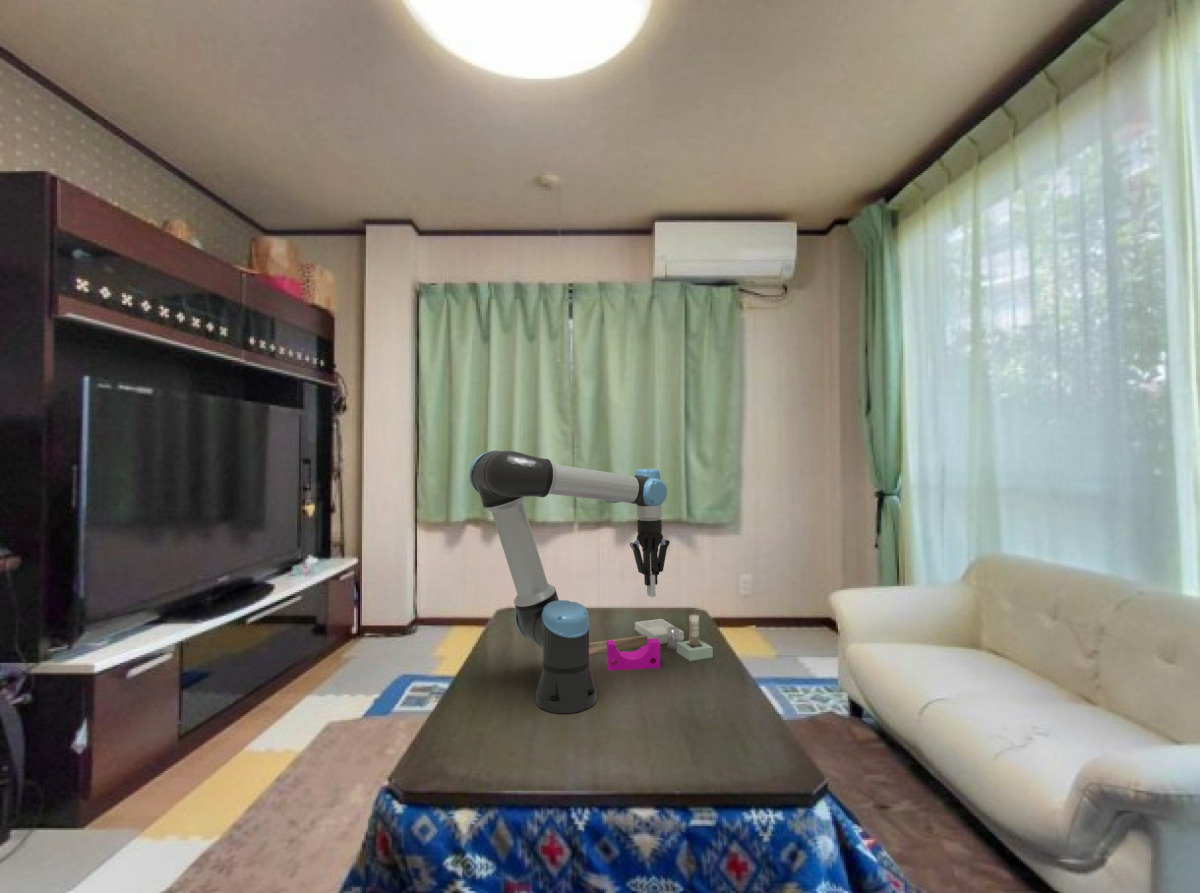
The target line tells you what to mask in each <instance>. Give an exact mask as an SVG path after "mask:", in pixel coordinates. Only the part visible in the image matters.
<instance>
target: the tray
mask: <svg viewBox="0 0 1200 893" xmlns="http://www.w3.org/2000/svg"><path fill="white" fill-rule="evenodd" d="M668 627H676V626H675V625H673V624H672V623H670V622H668V621H666V620H665V619H663V618H658V619H651V620H640V621H634V632H636V633H637V634H639V636H642V635H646V636H647V641H648V639H650V638H657V639H658V640H659V642H660V645H666V644H667V628H668ZM683 641H685V631H683V630H681V629H680V628H679V642H683Z"/></svg>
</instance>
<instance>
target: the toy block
mask: <svg viewBox="0 0 1200 893" xmlns="http://www.w3.org/2000/svg"><path fill="white" fill-rule="evenodd" d="M606 667H607V670H608V671H622V670H623V671H624V670H625V671H627V670H646V669H660V668H661V644H660V642H659V640H658V639H657V638H650V639H648V640H647V645H646V646H642V647H638V649H636V650H634V651H624V650H618V649H617V648H616V645H615V642H614V639H607V652H606Z"/></svg>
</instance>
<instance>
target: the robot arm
mask: <svg viewBox="0 0 1200 893" xmlns="http://www.w3.org/2000/svg"><path fill="white" fill-rule="evenodd" d="M468 473H469V474H468V475H469V482H470V484H471V485H472V487H473V489H474V490H475V491H476V492H477V493H479V494H478V495H479V496H480V500H481V503H482V506H483V508H484V509H485V510H488V511H490V513H491V515H492V517H493V521H494V525H495V526H496V527H495V528H496V530H497V534H498V538H499V540H500V544H501V546H502V550H503V553H504V556H505V559H506V562H507V565H508V568H509V572H510V575H511V577H512V581H513V585H514V588H515V591H516V593H517V594H516V596H515V598H514V599H513V603H514V608H515V610H514V621H515V626H516V628H517V629H518V630H519V632H520V634H522V635H523V636H524V637H525V638H526V639H528V640H530V641H532V642H533V643H534V644H536V645H538V646H539V647H540V648H542V672H541V676H540V677H539V681H538V684H537V687H536V688H537V689H536V692H535V704H536V705H537V706H538V707H539V708H540V709H542V710H543V711H546V712H550V713H556V714H573V713H580V712H582V711H586V710H589V709H590V708H591V707H593V706H594V705H595V703H596V702H597V688H596V685H595V682H594V679H593V675H592V673H591V671H590V654H589V643H590V623H591V622H590V618H589V612H588V609H587V608H586V607H585V606H584V605H583V604H581V603H578V602H577V601H571V600H564V599H563V600H561V599H559V596H558V593H557V590H556V587H555V586H554V585H553V584H550V583H548V580H547V577H546V573H545V570H544V566H543V563H542V560H541V557H540V553H539V549H538V548H537V547H538V546H537V545H536V541H535V537H534V534H533V531H532V527H531V525H530V522H529V518H528V515H527V511H526V508H525V504H524V500H525V498H526V497H528V498H529V497H538V498H546V497H548V496H549V495H553V496H555V495H556V496H563V497H564V496H565V497H570V498H572V497H574V498H580V499H581V498H583V499H589V500H590V499H591V500H599V501H604V502H606V503H608V504H609V503H610V504H612V503H613V504H617V503H627V504H634V505H636V517H637V521H636V525H637V535H636V540H635V541H633V542H630V543H629V546H630V548H631V550H632V551H633V555H634V559H635V563H636V567H637V571H638V573H640V574H642V575H643V576H644V578H643V579H644V586H646V595H647V596H648V597H650V598H655V597H656V594H657V593H656V586H657V585H658V575H660V573H662V572H664V567H665V563H666V562H665V561H666V555H667V551H668V547H669V545H670V544H671V541H670V540H669V539H665V538H664V535H663V533H662V531H663V523H662V519H661V518H663V517H662V505H663V503H664V502H665V501H666V500H667V497H668V496H667V495H668V490H667V486H666V483H665V482H664V481H663V480H661V473H660V470H659V469H657V468H639V469H636V471H635V475H628V474H622V473H617V472H610V471H609V472H608V471H602V470H596V469H595V470H594V469H588V468H582V467H575V466H570V465H569V466H567V465H562V464H556V463H555V464H554V463H553V462H552V460H551V459H548V458H543V457H537V456H534V455H529V454H527V453H522V452H519V451H516V450H491V451H487V452H483V453H481V454H480V455H478V456H477V457H476V458H475V459H474V461H473V462H472V464H471V466H470V469H469V472H468ZM640 546H641V549H640ZM641 550H642V553H641Z"/></svg>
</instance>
